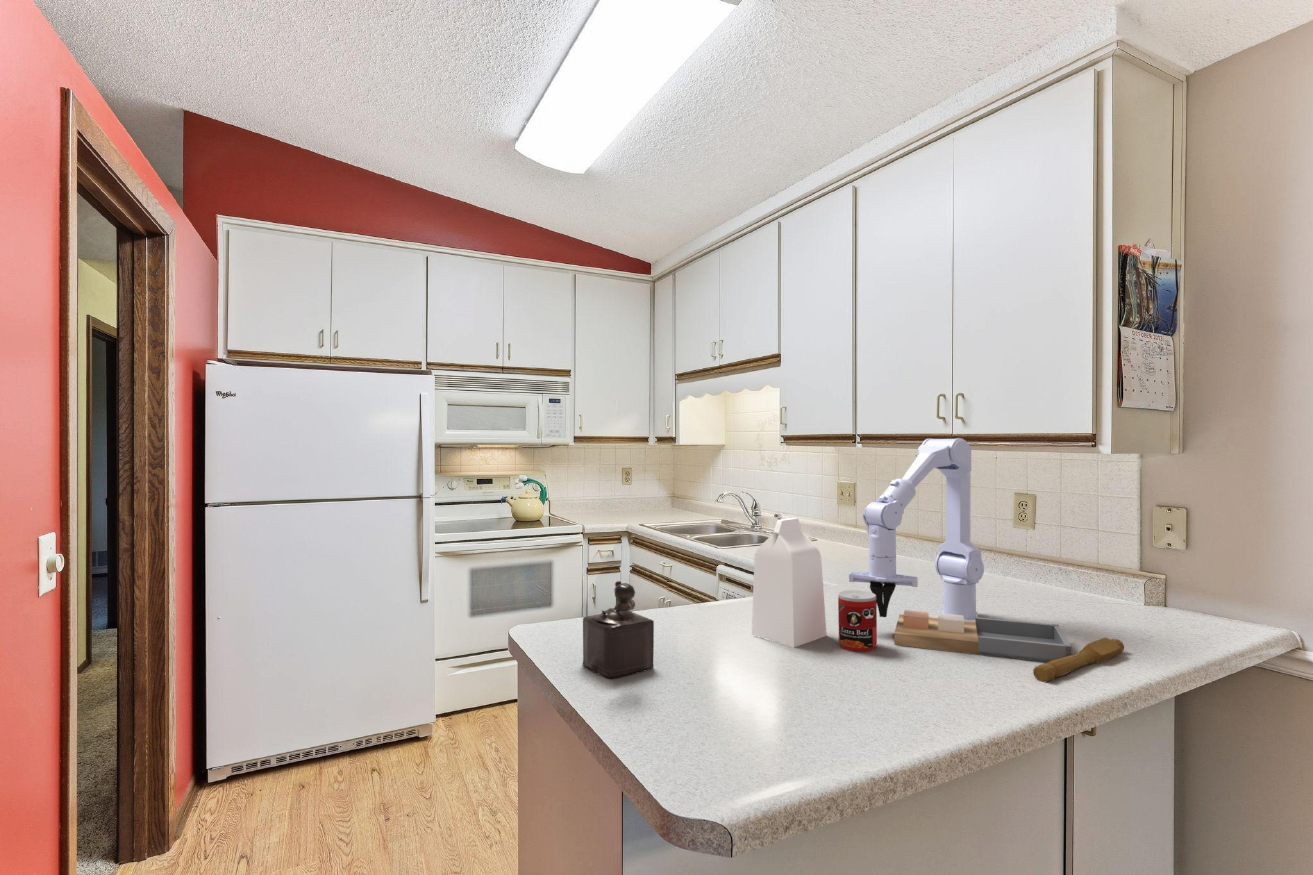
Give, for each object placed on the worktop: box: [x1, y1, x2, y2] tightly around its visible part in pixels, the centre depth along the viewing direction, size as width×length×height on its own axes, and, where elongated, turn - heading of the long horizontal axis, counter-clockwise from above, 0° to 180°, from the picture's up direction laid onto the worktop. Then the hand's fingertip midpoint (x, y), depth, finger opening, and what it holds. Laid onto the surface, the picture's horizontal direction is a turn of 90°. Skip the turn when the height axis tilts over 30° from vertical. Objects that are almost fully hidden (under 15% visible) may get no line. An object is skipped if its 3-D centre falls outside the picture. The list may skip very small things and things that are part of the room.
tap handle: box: [1032, 636, 1125, 683], centre depth 123 cm, size 3×3×30 cm
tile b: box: [937, 612, 964, 633], centre depth 139 cm, size 5×5×2 cm
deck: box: [893, 614, 979, 655], centre depth 140 cm, size 16×16×2 cm
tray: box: [975, 616, 1073, 663], centre depth 134 cm, size 16×16×4 cm
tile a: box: [902, 609, 930, 629], centre depth 142 cm, size 5×5×2 cm
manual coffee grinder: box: [582, 580, 655, 679], centre depth 123 cm, size 16×11×18 cm
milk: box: [751, 517, 828, 648], centre depth 144 cm, size 12×12×26 cm
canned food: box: [837, 589, 878, 653], centre depth 136 cm, size 8×8×11 cm
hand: (883, 615), depth 145 cm, fingers closed
